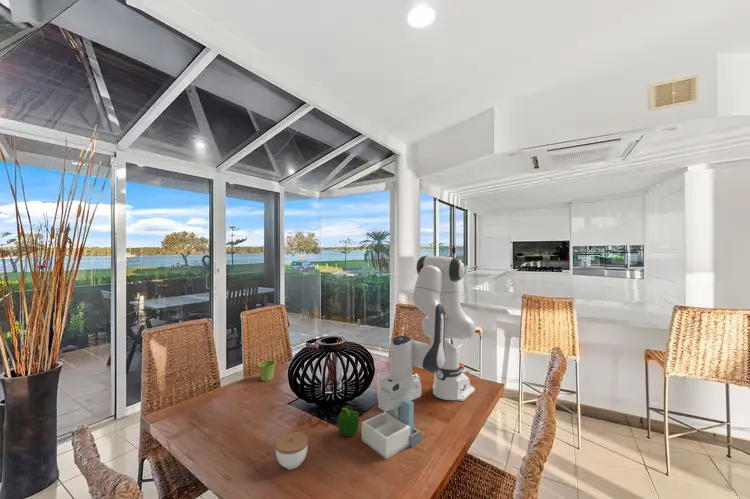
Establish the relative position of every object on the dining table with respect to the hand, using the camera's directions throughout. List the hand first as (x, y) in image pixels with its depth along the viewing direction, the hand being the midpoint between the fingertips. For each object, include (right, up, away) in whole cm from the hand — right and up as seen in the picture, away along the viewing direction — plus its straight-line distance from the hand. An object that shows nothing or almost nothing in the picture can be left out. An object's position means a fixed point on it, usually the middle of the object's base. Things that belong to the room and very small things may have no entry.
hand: (401, 414), depth 128 cm
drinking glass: (-6, -8, +21) cm, 23 cm away
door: (0, -6, 0) cm, 6 cm away
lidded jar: (-38, -9, -16) cm, 43 cm away
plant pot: (-69, -7, +52) cm, 87 cm away
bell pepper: (-20, -8, +1) cm, 22 cm away
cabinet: (-4, -8, -3) cm, 10 cm away
